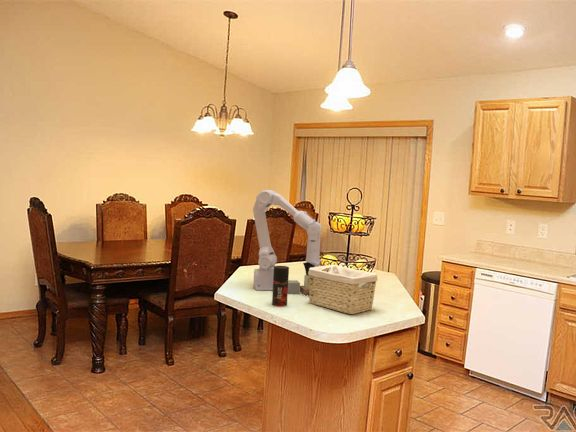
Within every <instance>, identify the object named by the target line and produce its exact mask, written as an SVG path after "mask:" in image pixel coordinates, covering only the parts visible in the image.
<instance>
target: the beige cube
mask: <svg viewBox="0 0 576 432" xmlns="http://www.w3.org/2000/svg"><path fill="white" fill-rule="evenodd" d="M303 279H304V281H303V282H304V283H303V286H304V287H305V288H306V289H309V275H306V274H305V275H304V277H303Z"/></svg>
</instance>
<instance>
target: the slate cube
mask: <svg viewBox="0 0 576 432" xmlns="http://www.w3.org/2000/svg"><path fill="white" fill-rule="evenodd" d="M300 286H301V282H300V281H298V280H296V279H294V280H289V279H288V295H300V293H301V292H300Z"/></svg>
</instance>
